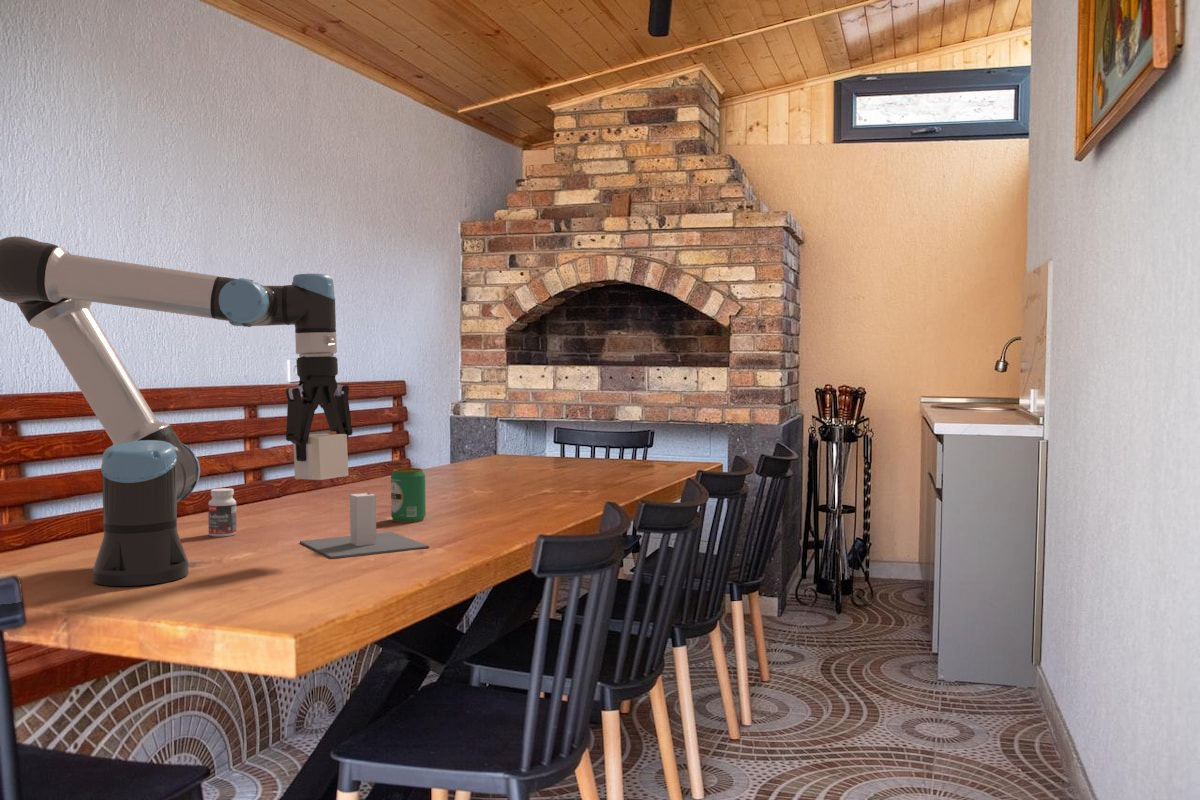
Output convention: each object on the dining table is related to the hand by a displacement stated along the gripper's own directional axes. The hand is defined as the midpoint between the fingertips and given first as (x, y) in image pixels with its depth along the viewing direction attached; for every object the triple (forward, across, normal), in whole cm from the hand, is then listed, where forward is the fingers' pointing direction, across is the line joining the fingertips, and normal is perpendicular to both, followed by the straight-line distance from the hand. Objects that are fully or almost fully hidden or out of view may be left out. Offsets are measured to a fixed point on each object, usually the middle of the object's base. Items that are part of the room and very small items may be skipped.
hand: (321, 475), depth 193 cm
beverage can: (+16, +42, +18) cm, 49 cm away
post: (+16, +13, +3) cm, 21 cm away
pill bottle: (+15, +6, +38) cm, 42 cm away
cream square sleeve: (0, 0, 0) cm, 0 cm away
